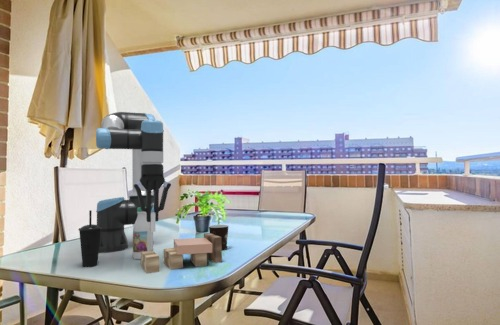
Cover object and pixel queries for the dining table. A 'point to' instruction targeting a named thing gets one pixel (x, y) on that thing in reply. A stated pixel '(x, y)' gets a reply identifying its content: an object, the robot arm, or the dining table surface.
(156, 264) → the batten rear
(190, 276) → the dining table surface
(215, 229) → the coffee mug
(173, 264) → the block
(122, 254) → the dining table surface
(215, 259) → the brown wooden board
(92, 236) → the drinking cup
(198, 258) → the batten
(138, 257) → the milk bottle
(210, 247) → the slab
